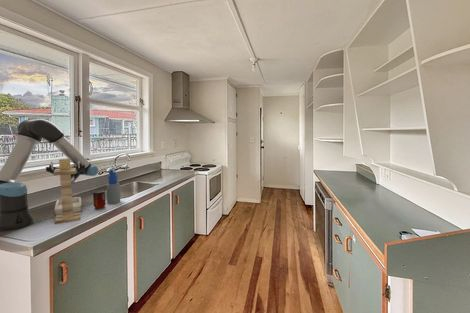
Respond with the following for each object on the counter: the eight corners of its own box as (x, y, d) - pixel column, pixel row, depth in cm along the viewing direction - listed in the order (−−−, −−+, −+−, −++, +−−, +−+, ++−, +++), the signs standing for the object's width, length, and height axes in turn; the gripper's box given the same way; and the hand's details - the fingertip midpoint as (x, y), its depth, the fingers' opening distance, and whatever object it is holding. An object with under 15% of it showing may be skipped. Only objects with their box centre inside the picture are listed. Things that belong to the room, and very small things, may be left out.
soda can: (107, 205, 161) (106, 189, 160) (103, 209, 154) (102, 191, 153) (96, 206, 159) (95, 189, 158) (92, 209, 152) (91, 192, 151)
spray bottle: (122, 201, 171) (121, 169, 169) (111, 204, 164) (109, 170, 161) (116, 199, 176) (114, 168, 173) (104, 202, 168) (102, 169, 166)
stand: (56, 217, 138) (53, 169, 136) (80, 213, 145) (77, 167, 142) (54, 224, 127) (51, 172, 124) (80, 220, 134) (77, 170, 131)
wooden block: (61, 166, 145) (60, 157, 144) (70, 166, 148) (70, 157, 147) (59, 170, 130) (59, 160, 130) (70, 169, 133) (69, 159, 133)
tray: (57, 205, 161) (57, 199, 161) (81, 202, 169) (80, 196, 169) (54, 216, 140) (54, 209, 140) (81, 211, 148) (81, 205, 148)
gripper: (89, 178, 163) (89, 167, 147) (43, 182, 148) (39, 170, 132) (88, 168, 165) (88, 156, 149) (43, 171, 151) (39, 158, 135)
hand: (65, 162), depth 141 cm, fingers open, 13 cm apart
